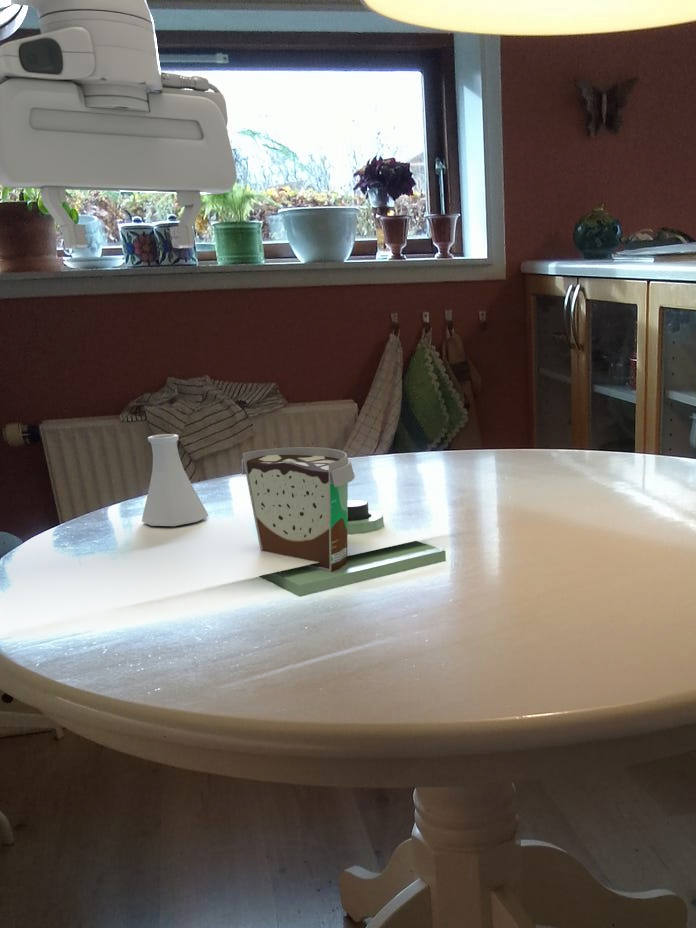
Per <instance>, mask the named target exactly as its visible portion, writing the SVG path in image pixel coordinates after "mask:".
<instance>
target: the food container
mask: <svg viewBox="0 0 696 928" xmlns="http://www.w3.org/2000/svg"><path fill="white" fill-rule="evenodd" d="M354 472H355V471H354V469H353V465H352V462H351V460H350V459H349V458H348V454H347V453H346V452H345V451H343V450H341V449H335V448H328V447H313V446H312V447H311V446H309V447H308V446H307V447H306V446H305V447H304V446H302V447H299V446H297V447H295V446H294V447H276V448H267V449H259V450H252V451H247V452H242V459H241V476H242V475H245V476H246V481H247V486H248V492H249V497H250V503H251V508H252V514H253V519H254V525H255V529H256V535H257V539H258V544H259V545H258V546H259V549H260V552H265V553H271V554H275V555H281V556H285V557H291V558H296V559H300V560H305V561H311V562H315V563H310V564H306V565H303V566H304V567H309V568H313V569H318V570H323V571H328V572H333V571H336V570H338V569H340V568H341V567H343V566H344V565H346V562H347V556H348V535H347V527H348V501H349V499H348V495H349V491H348V490H349V487H348V486H349V485H348V484H349V483H350V482H353V480H355V476H356V475H355V473H354Z"/></svg>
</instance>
